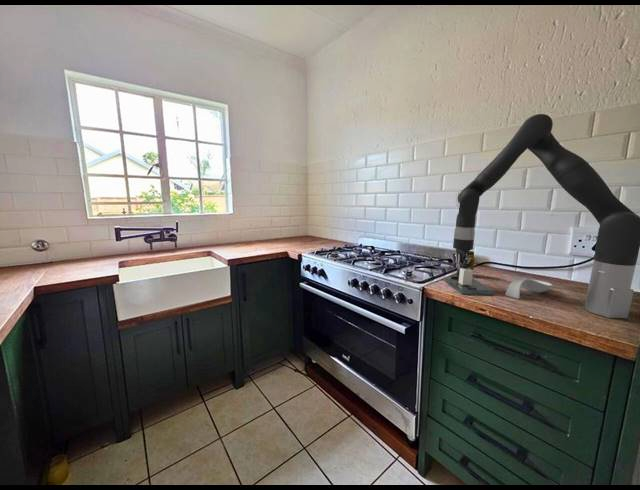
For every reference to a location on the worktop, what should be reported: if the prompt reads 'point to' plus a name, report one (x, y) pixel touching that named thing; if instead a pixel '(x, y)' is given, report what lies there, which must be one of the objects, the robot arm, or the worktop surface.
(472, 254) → the condiment
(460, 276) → the block
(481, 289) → the plate
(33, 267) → the worktop surface
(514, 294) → the spoon rest
